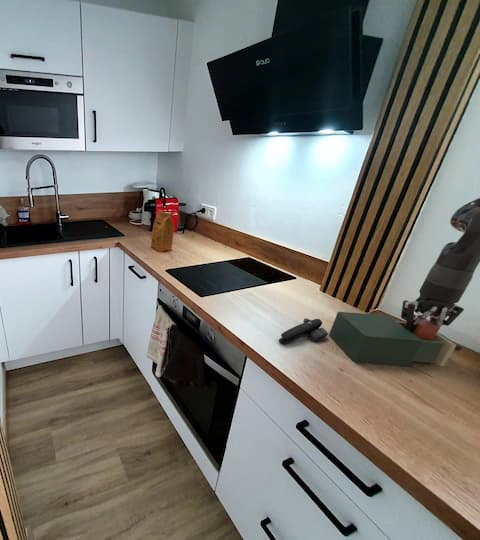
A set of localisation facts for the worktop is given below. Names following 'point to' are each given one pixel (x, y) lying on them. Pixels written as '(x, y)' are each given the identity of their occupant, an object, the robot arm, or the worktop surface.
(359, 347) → the cabinet
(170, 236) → the coffee package
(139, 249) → the worktop surface
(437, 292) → the robot arm
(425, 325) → the block
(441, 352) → the drawer
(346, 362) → the worktop surface
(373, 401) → the worktop surface
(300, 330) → the can opener
